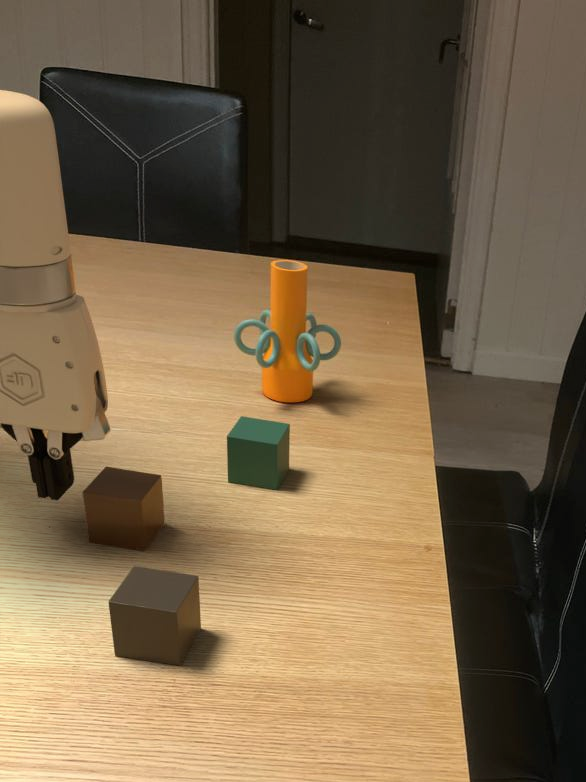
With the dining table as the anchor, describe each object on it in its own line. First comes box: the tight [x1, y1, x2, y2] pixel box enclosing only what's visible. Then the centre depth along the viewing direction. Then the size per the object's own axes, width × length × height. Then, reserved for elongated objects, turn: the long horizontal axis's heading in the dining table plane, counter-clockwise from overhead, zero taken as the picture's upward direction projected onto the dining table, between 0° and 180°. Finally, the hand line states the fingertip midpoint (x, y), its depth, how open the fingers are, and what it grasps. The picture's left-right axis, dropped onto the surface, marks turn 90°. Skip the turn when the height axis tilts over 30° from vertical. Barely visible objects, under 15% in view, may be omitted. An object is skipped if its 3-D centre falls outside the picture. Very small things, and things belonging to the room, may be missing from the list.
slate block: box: [107, 565, 202, 667], centre depth 71 cm, size 5×5×5 cm
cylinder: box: [233, 259, 342, 403], centre depth 109 cm, size 12×10×15 cm
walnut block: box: [82, 466, 166, 552], centre depth 83 cm, size 5×5×5 cm
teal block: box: [226, 416, 291, 490], centre depth 95 cm, size 5×5×5 cm
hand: (55, 491), depth 82 cm, fingers closed
